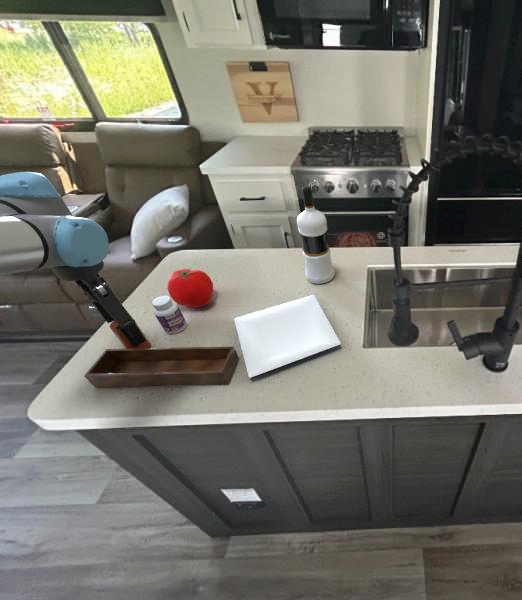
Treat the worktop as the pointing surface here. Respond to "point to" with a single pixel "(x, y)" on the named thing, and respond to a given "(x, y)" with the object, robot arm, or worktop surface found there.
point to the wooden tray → (163, 367)
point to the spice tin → (124, 339)
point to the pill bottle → (169, 315)
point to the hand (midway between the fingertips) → (126, 331)
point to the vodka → (314, 241)
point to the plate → (284, 334)
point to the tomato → (190, 287)
